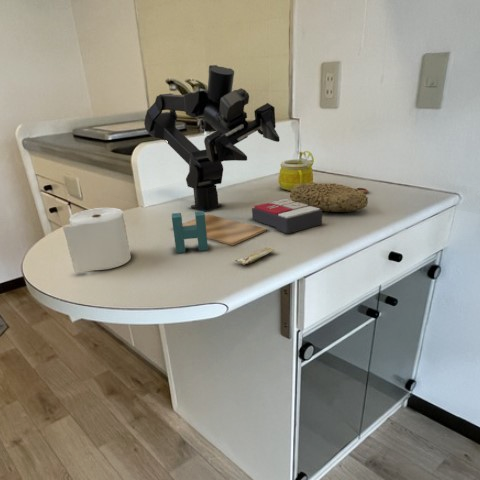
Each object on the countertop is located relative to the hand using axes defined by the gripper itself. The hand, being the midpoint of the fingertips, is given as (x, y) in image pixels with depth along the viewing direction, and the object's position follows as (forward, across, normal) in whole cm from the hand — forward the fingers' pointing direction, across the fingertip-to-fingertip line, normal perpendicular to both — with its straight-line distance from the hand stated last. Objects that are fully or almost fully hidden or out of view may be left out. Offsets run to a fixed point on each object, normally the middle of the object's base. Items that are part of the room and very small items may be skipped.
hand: (262, 149), depth 98 cm
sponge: (+6, +15, +24) cm, 29 cm away
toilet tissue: (-1, -43, +6) cm, 43 cm away
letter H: (+5, -25, +10) cm, 28 cm away
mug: (-15, +21, +34) cm, 43 cm away
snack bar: (+19, -17, +8) cm, 27 cm away
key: (+4, +28, +29) cm, 41 cm away
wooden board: (-1, -15, +16) cm, 22 cm away
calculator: (+6, +1, +19) cm, 20 cm away
